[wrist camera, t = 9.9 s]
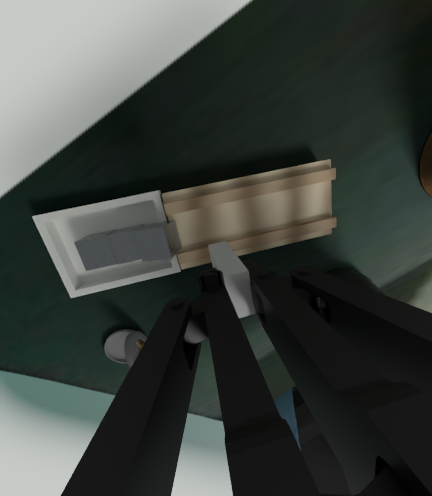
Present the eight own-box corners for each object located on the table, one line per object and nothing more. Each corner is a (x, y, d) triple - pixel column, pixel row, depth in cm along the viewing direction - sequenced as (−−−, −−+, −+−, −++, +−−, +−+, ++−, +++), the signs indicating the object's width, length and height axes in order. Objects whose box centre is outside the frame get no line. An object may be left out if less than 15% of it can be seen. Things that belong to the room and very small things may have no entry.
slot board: (317, 161, 32) (335, 158, 28) (319, 229, 35) (336, 234, 31) (163, 193, 30) (160, 194, 26) (181, 262, 33) (181, 272, 29)
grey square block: (144, 223, 30) (139, 228, 26) (152, 249, 31) (147, 257, 28) (116, 229, 30) (107, 235, 26) (125, 254, 31) (117, 264, 27)
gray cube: (175, 219, 28) (163, 227, 24) (182, 247, 29) (171, 258, 25) (148, 224, 29) (133, 232, 25) (156, 250, 30) (142, 261, 26)
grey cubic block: (106, 235, 26) (73, 242, 26) (117, 264, 27) (86, 271, 27) (116, 228, 30) (88, 234, 29) (125, 254, 31) (98, 260, 31)
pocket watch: (100, 352, 36) (70, 412, 26) (120, 313, 34) (95, 362, 25) (145, 365, 38) (132, 425, 28) (165, 329, 36) (159, 380, 27)
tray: (160, 190, 30) (158, 190, 27) (180, 265, 33) (180, 271, 31) (44, 213, 28) (31, 216, 26) (79, 289, 32) (70, 298, 30)
